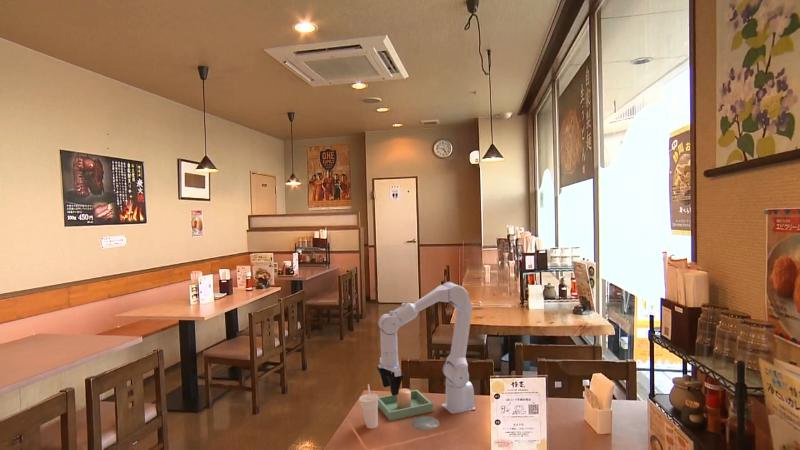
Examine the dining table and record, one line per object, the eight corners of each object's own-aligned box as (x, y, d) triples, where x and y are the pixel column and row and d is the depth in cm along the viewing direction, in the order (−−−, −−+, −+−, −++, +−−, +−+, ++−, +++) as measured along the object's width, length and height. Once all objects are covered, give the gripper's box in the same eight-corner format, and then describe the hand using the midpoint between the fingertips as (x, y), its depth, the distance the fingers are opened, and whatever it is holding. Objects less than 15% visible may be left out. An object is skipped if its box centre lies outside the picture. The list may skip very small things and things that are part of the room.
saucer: (431, 416, 147) (431, 414, 147) (444, 428, 139) (444, 426, 139) (407, 421, 143) (407, 419, 143) (418, 434, 135) (418, 432, 135)
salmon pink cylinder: (407, 404, 155) (407, 387, 155) (413, 409, 151) (412, 392, 151) (395, 406, 154) (394, 389, 153) (400, 412, 149) (400, 395, 149)
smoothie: (379, 431, 137) (373, 388, 136) (359, 432, 138) (354, 388, 137) (383, 421, 143) (378, 380, 142) (365, 422, 144) (360, 380, 144)
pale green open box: (417, 398, 161) (417, 389, 161) (432, 412, 149) (432, 403, 149) (376, 406, 155) (376, 397, 155) (389, 422, 143) (389, 412, 143)
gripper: (370, 346, 150) (372, 385, 151) (385, 358, 137) (387, 401, 137) (389, 343, 153) (391, 381, 153) (406, 355, 140) (407, 396, 140)
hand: (390, 390), depth 146 cm, fingers open, 7 cm apart
